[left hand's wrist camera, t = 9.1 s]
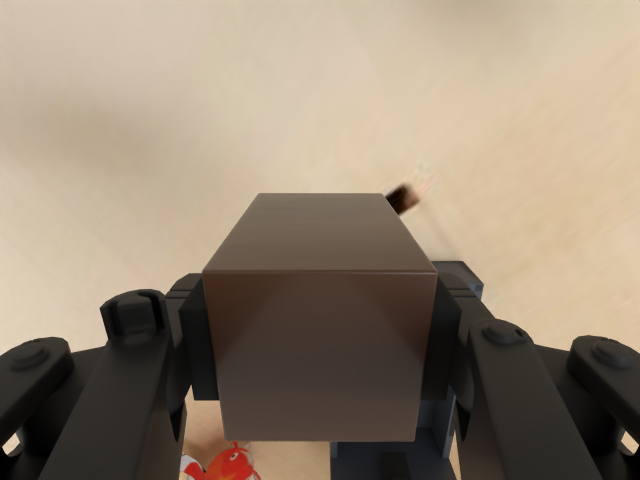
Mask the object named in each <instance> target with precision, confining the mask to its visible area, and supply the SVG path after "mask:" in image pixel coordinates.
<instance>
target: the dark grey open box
mask: <svg viewBox="0 0 640 480" xmlns="http://www.w3.org/2000/svg"><path fill="white" fill-rule="evenodd" d="M431 263H432V264H433V266H434V267H435V268H436V270H437V272H451V273H453V274H455V275H456V276H458V277H460V278H461V279H463V280H464V281H465V282H466V283H467V285H468V286H469V287H470V288H471V290H472V291H473V292H474V293H475V294H476V296H477V298H479V299H480V300H481V296H482V291H483V286H484V284H483V283H482V281H481V280H480V279H479V278H478V277H477V276H476V275H475V274H474V273H473V272H472V271H471V270H470V268H469V267H468V266H467V265H466V264H465V263H464V262H463V261H431ZM455 399H456V396H455V394H454V392H453V390H452V388H451V386H450V384H449V386H448V392H447V397H446V400H420V404H419V412H418V419H417V426H416V433H415V440H414V441H412V442H361V441H330V475H331V480H384V476H383V469H382V463H381V457H380V456H381V452H405V455H406V459H407V463H408V468H409V472H410V476H411V480H457V479H456V476H455V474H454V471H453V468H452V465H451V463H450V460H449V455H450V450H451V445H452V440H453V436H449V430H450V424H451V419H452V414H453V409H454V404H455Z"/></svg>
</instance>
